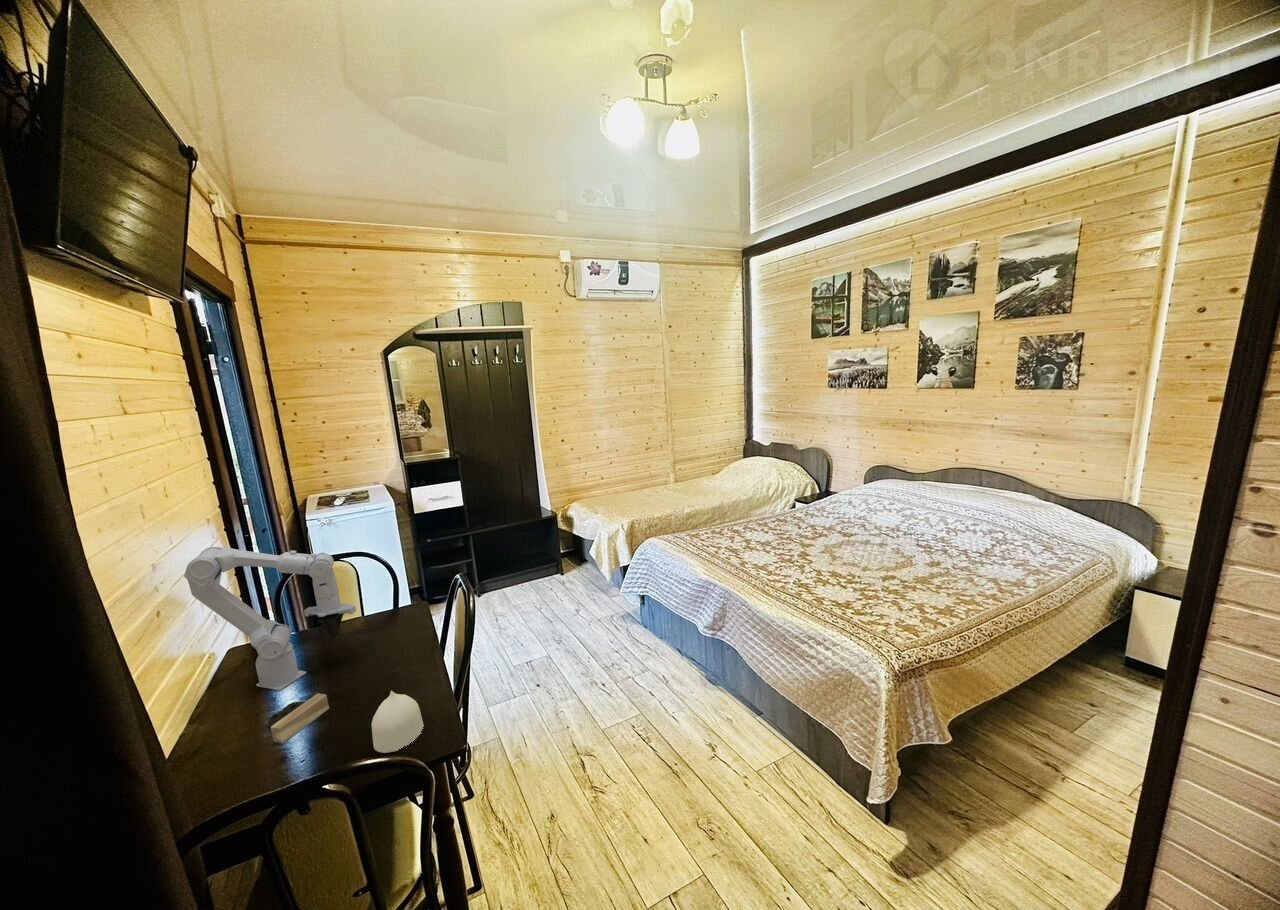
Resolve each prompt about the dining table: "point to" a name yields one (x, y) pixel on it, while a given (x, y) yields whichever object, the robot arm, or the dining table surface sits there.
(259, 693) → the dining table surface
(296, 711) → the bench stop
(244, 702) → the dining table surface
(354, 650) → the dining table surface
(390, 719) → the teardrop
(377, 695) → the dining table surface
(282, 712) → the gaming controller
